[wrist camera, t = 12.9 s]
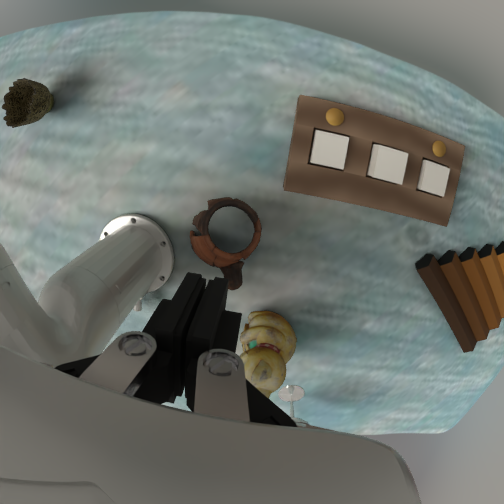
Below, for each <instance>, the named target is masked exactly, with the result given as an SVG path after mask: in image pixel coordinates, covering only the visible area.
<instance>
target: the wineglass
mask: <svg viewBox="0 0 504 504" xmlns="http://www.w3.org/2000/svg"><path fill="white" fill-rule="evenodd" d="M278 395H279V397H280V399H282V400H283V401H287V402H290V417H291V418H292V419H293V420H294V422H295V423H296V425H298V426H302V427H305V425H306V424H308V425H310V424H309V423H308V422H306V421H305V420H303V419H300V418H295V417H294V407H293V402H294V401H298V400H300V399H301V398H302V397H303V396H304V390H303V389H302V388H301V387H299V386H294V385H291V386H286V387H283V388H282V389H281V390H280V391H279V393H278Z"/></svg>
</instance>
